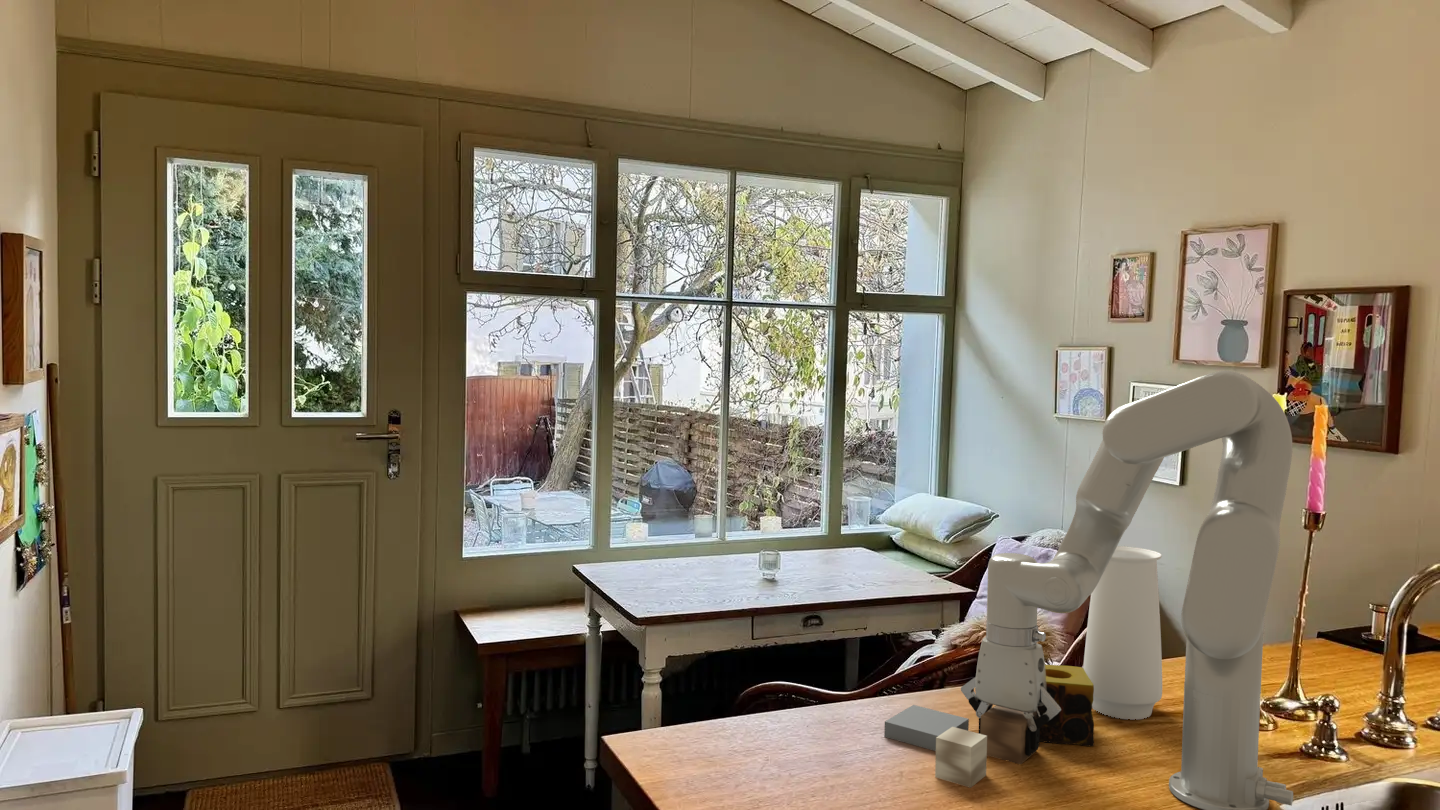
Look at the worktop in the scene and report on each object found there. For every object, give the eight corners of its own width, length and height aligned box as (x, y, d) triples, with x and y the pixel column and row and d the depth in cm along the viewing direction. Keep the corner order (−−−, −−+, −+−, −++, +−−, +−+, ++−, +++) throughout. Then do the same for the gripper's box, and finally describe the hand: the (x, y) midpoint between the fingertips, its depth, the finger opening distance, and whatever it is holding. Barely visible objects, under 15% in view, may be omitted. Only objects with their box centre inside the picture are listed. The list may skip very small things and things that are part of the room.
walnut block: (1036, 751, 154) (1037, 713, 153) (1020, 764, 149) (1021, 725, 148) (996, 740, 158) (997, 704, 157) (979, 753, 153) (980, 715, 152)
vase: (1171, 725, 165) (1176, 561, 164) (1090, 720, 167) (1095, 557, 166) (1149, 699, 178) (1154, 546, 176) (1075, 694, 180) (1079, 543, 178)
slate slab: (968, 733, 160) (968, 718, 160) (941, 752, 153) (941, 736, 152) (913, 719, 167) (913, 704, 166) (884, 736, 159) (884, 721, 159)
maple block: (986, 775, 145) (987, 735, 144) (970, 788, 140) (971, 747, 140) (951, 765, 148) (952, 726, 148) (935, 777, 144) (936, 737, 143)
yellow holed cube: (1094, 748, 155) (1096, 686, 155) (1028, 742, 157) (1029, 681, 157) (1083, 724, 165) (1085, 666, 165) (1021, 719, 167) (1023, 661, 167)
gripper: (1075, 639, 150) (1072, 754, 151) (969, 619, 160) (966, 726, 161) (1058, 650, 144) (1054, 769, 145) (948, 629, 155) (946, 740, 155)
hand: (1008, 746), depth 153 cm, fingers closed on walnut block, 6 cm apart
